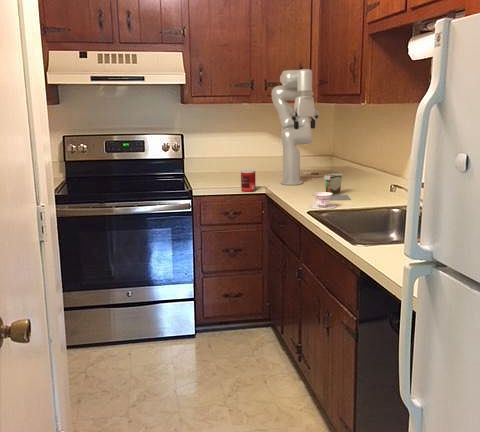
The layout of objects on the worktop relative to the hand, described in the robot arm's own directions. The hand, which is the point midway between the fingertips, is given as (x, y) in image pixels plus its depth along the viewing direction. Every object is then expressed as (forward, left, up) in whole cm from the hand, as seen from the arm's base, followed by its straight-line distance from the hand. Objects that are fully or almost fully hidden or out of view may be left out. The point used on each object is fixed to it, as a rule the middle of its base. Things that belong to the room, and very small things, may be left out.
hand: (304, 128), depth 277 cm
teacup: (+39, +6, -33) cm, 51 cm away
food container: (+10, +12, -33) cm, 36 cm away
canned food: (-3, -30, -33) cm, 44 cm away
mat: (+19, +12, -33) cm, 40 cm away
